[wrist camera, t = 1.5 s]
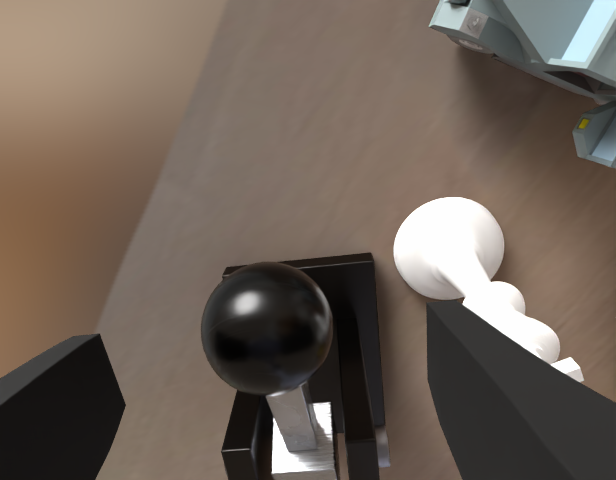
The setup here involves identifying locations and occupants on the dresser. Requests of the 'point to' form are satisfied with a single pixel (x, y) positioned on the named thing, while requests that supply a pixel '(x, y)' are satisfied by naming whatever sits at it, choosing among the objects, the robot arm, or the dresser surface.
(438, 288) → the chess piece
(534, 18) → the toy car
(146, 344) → the dresser surface
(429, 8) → the dresser surface
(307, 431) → the lever
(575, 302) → the dresser surface
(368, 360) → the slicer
